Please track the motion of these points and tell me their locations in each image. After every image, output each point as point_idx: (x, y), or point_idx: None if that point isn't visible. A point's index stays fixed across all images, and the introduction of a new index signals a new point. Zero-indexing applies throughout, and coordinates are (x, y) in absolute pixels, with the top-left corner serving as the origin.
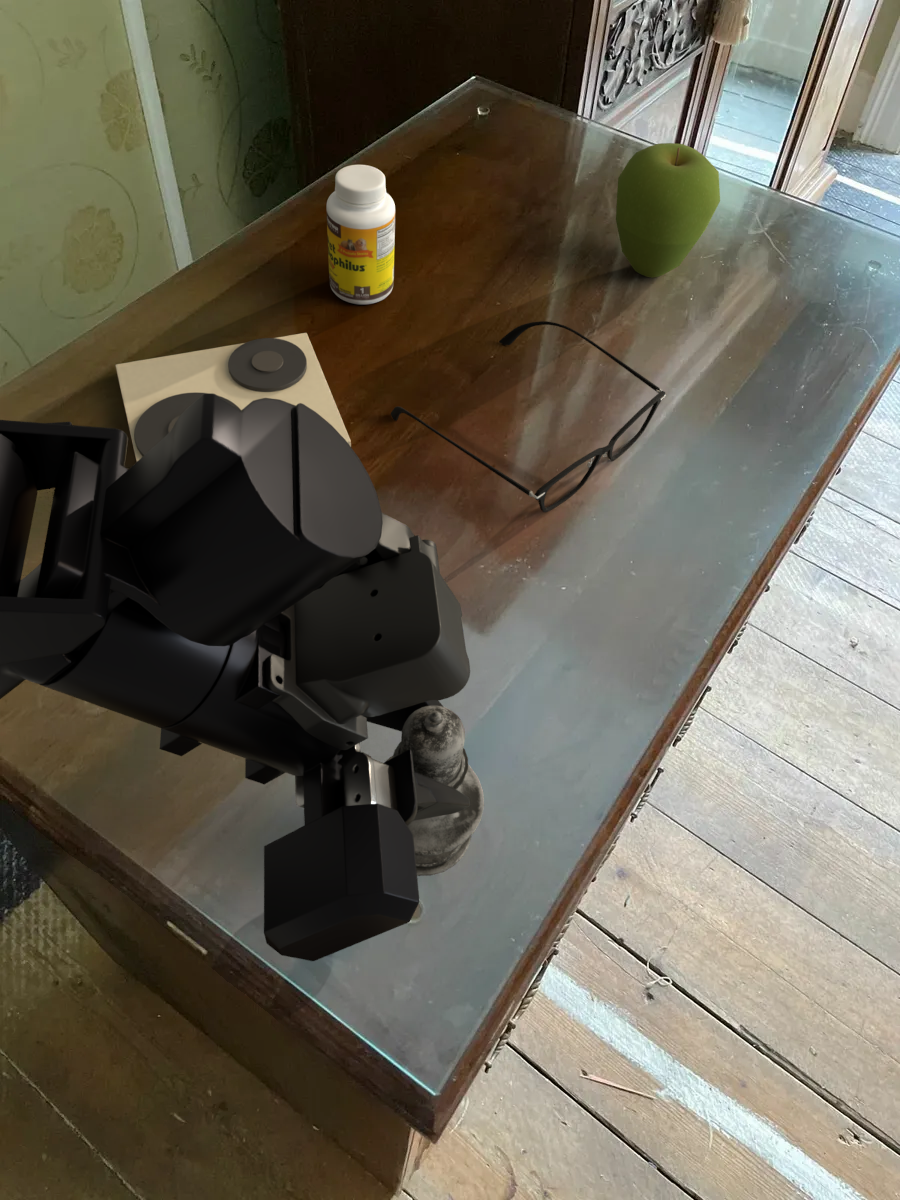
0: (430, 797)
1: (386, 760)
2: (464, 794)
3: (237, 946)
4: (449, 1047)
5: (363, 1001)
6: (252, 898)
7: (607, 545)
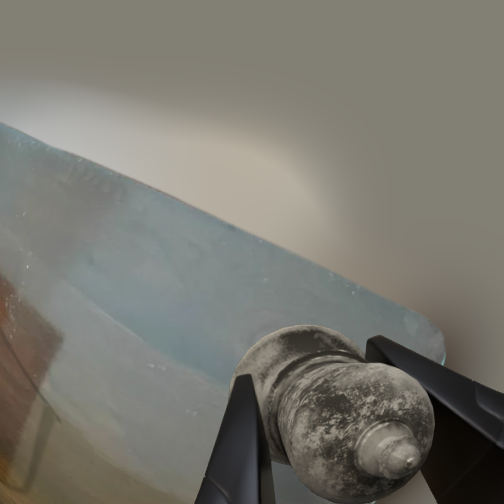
0: (488, 392)
1: None
2: (302, 351)
3: None
4: (430, 327)
5: None
6: None
7: (3, 234)
